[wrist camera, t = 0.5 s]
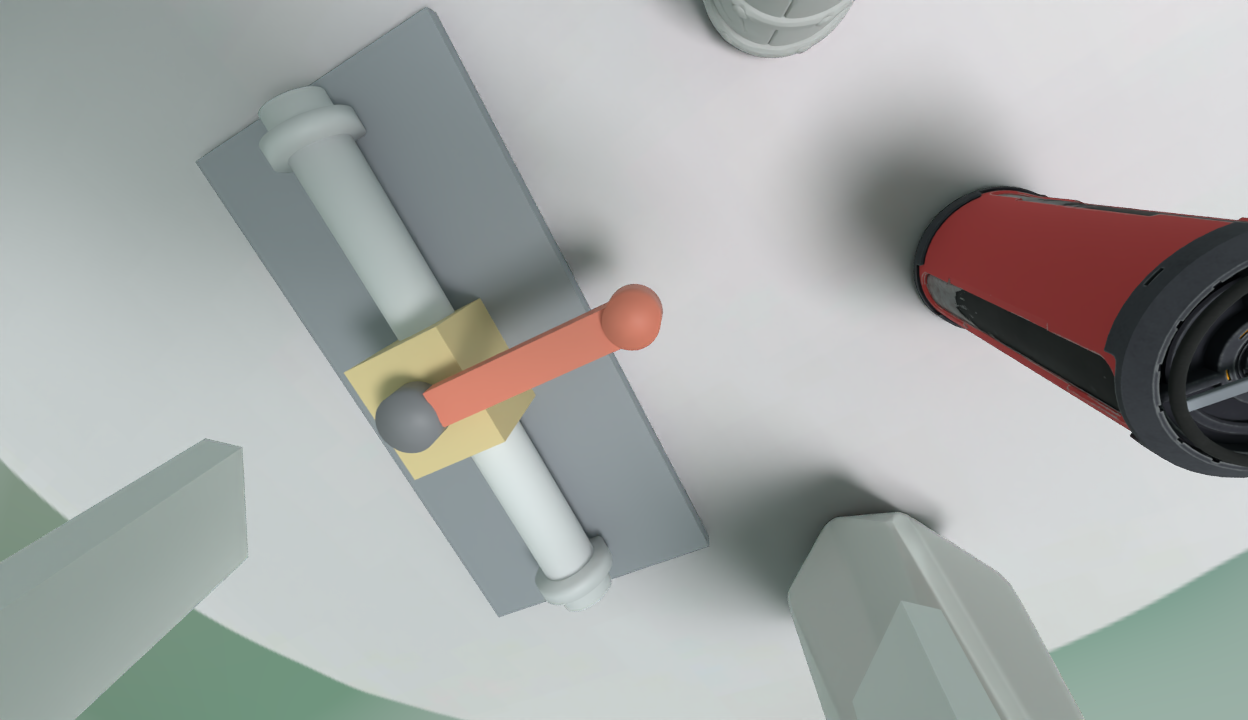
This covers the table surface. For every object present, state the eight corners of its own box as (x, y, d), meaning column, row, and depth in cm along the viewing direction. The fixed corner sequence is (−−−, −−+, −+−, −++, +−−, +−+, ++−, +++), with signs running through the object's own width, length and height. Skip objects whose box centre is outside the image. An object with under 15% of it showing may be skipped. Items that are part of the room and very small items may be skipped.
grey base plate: (211, 161, 35) (88, 161, 28) (435, 12, 31) (359, -32, 24) (503, 605, 44) (467, 691, 37) (708, 535, 40) (711, 617, 33)
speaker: (890, 227, 32) (1112, 303, 15) (1036, 159, 30) (1476, 158, 13) (937, 346, 34) (1180, 531, 17) (1077, 288, 32) (1508, 432, 15)
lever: (415, 444, 31) (397, 463, 29) (382, 394, 30) (361, 410, 28) (674, 329, 27) (673, 342, 25) (645, 269, 26) (641, 277, 25)
